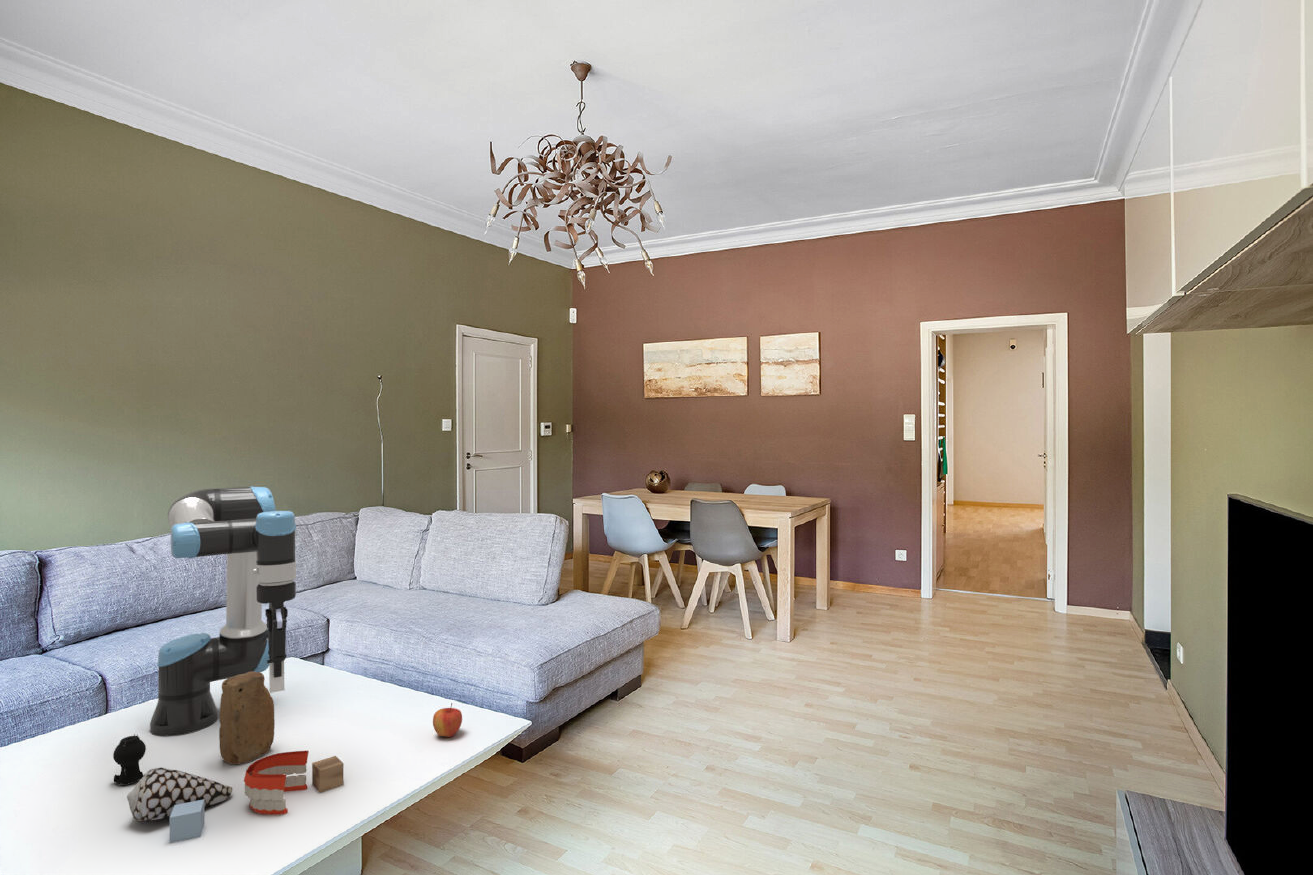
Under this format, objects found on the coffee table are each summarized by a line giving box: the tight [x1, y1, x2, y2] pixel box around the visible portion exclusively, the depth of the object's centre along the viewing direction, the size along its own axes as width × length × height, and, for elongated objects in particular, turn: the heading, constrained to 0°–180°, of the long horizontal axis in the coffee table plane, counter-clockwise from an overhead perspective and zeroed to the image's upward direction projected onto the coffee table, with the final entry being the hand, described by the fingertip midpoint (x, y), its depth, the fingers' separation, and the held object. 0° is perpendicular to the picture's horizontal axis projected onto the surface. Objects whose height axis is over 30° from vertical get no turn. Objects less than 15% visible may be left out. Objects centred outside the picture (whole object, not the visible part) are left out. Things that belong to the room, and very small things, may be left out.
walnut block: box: [311, 755, 344, 794], centre depth 154 cm, size 5×5×5 cm
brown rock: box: [218, 671, 275, 765], centre depth 168 cm, size 11×8×20 cm
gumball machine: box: [112, 733, 147, 788], centre depth 156 cm, size 7×6×10 cm
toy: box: [243, 750, 309, 816], centre depth 147 cm, size 12×10×8 cm
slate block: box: [169, 799, 205, 844], centre depth 135 cm, size 5×5×5 cm
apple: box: [432, 702, 463, 738], centre depth 179 cm, size 7×7×8 cm
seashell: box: [126, 767, 233, 822], centre depth 144 cm, size 16×13×10 cm
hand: (276, 690), depth 150 cm, fingers closed
